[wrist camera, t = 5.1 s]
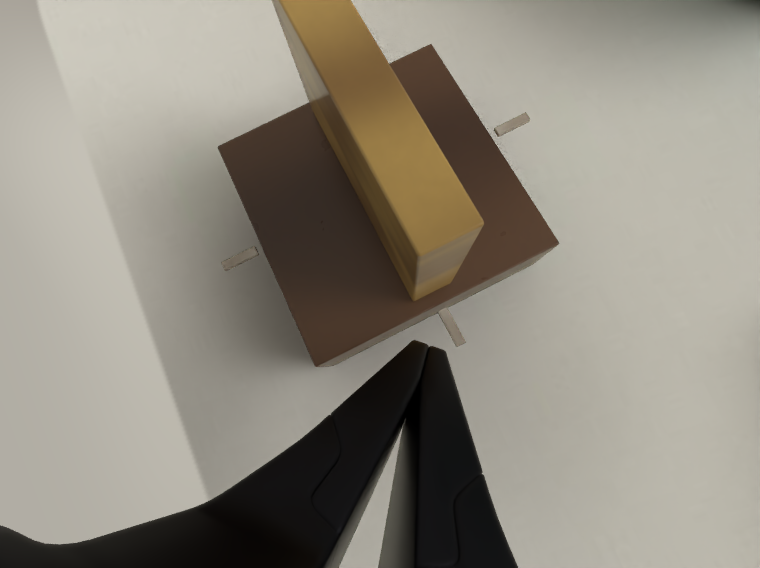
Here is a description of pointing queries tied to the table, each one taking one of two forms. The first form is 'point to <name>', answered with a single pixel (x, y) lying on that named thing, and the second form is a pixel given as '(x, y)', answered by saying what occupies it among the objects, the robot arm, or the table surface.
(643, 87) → the table surface
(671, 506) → the table surface
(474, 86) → the table surface
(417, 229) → the tan wooden flat block
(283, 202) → the brown square slab
